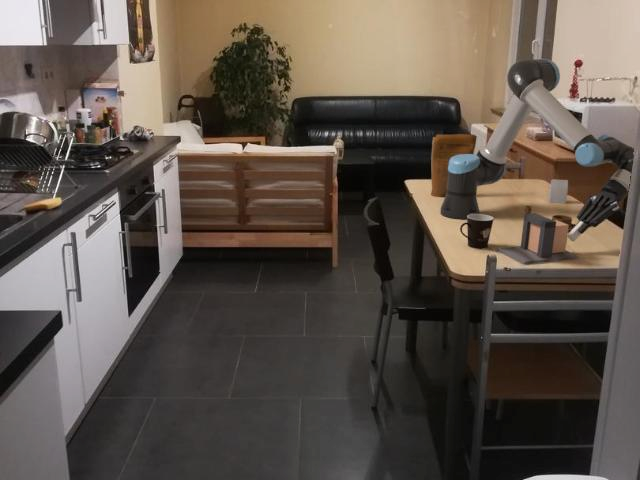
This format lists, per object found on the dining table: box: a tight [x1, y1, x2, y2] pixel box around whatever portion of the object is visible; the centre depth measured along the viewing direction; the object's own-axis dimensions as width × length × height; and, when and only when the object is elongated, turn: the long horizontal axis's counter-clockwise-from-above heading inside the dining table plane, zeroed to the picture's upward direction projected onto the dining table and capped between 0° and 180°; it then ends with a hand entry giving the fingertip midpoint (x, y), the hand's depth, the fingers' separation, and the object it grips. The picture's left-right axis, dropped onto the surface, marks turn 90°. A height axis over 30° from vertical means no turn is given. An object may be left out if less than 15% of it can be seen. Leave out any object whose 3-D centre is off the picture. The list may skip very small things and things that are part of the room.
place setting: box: [524, 205, 577, 234], centre depth 239 cm, size 18×20×6 cm
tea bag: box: [547, 178, 569, 205], centre depth 274 cm, size 4×7×10 cm, turn 80°
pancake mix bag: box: [430, 133, 478, 198], centre depth 277 cm, size 7×19×28 cm, turn 85°
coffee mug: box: [459, 213, 495, 250], centre depth 211 cm, size 12×9×10 cm
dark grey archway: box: [520, 212, 556, 258], centre depth 202 cm, size 4×11×12 cm, turn 19°
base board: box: [497, 245, 579, 265], centre depth 204 cm, size 20×14×1 cm
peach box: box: [528, 220, 570, 253], centre depth 204 cm, size 10×6×9 cm, turn 109°
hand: (570, 238), depth 207 cm, fingers closed
